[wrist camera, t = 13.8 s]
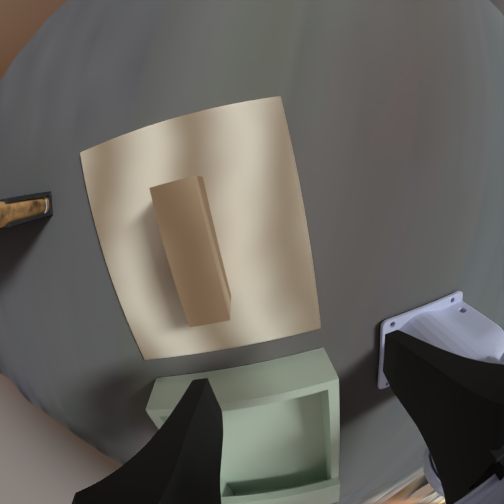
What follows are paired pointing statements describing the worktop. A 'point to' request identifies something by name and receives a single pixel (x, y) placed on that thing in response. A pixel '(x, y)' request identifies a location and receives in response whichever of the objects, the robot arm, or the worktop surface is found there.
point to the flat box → (271, 428)
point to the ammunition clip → (24, 209)
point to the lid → (205, 230)
